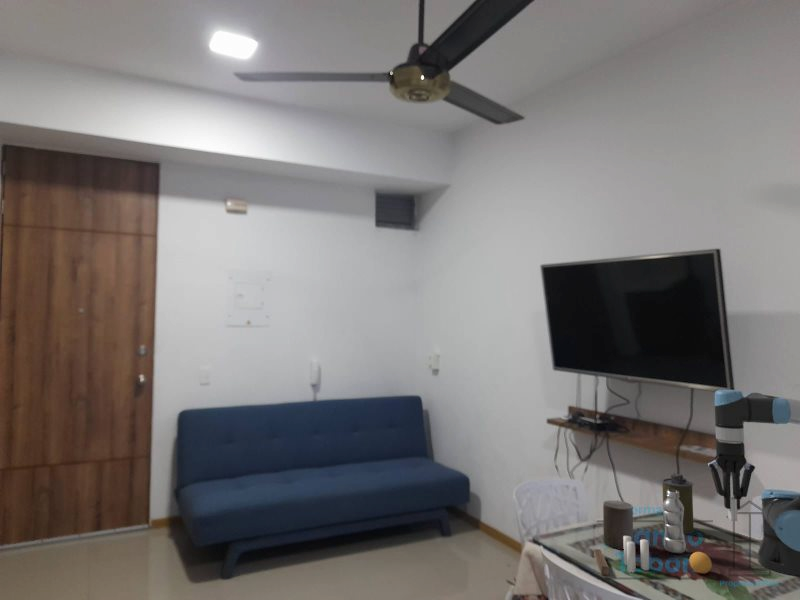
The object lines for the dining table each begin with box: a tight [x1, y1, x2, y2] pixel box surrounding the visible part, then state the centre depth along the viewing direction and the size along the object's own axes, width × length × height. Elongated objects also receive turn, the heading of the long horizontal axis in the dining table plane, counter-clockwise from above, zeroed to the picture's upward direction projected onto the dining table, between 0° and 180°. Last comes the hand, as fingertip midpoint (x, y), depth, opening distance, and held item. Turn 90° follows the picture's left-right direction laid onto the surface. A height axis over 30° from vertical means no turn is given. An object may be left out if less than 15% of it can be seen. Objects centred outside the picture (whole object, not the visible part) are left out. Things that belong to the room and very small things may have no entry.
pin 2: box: [626, 541, 637, 574], centre depth 174 cm, size 2×2×8 cm
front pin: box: [639, 538, 650, 571], centre depth 176 cm, size 2×2×8 cm
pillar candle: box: [602, 499, 634, 550], centre depth 196 cm, size 10×10×15 cm
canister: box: [661, 472, 695, 535], centre depth 211 cm, size 11×10×20 cm
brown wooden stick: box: [593, 548, 609, 576], centre depth 178 cm, size 2×14×2 cm, turn 170°
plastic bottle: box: [662, 490, 687, 554], centre depth 189 cm, size 6×7×20 cm
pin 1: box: [623, 536, 632, 566], centre depth 179 cm, size 2×2×8 cm
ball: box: [689, 551, 713, 574], centre depth 173 cm, size 6×6×6 cm
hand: (732, 519), depth 172 cm, fingers closed
